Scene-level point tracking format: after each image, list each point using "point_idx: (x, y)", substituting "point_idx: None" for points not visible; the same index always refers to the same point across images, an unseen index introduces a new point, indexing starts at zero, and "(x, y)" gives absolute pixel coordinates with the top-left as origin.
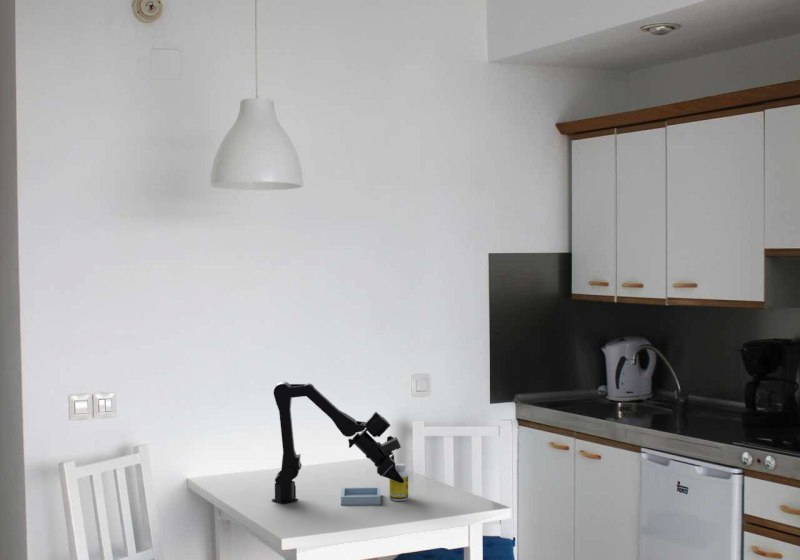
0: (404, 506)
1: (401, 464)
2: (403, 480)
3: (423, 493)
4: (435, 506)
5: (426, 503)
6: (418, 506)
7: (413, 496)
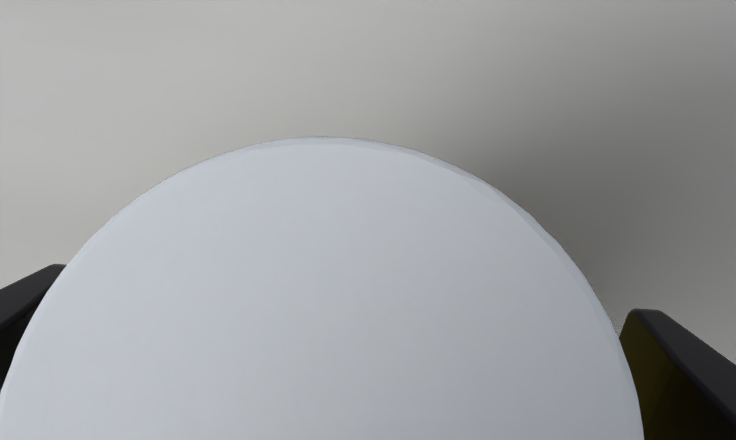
0: (718, 352)
1: (263, 290)
2: (668, 322)
3: (124, 59)
4: (717, 17)
5: (585, 88)
6: (717, 189)
7: None
